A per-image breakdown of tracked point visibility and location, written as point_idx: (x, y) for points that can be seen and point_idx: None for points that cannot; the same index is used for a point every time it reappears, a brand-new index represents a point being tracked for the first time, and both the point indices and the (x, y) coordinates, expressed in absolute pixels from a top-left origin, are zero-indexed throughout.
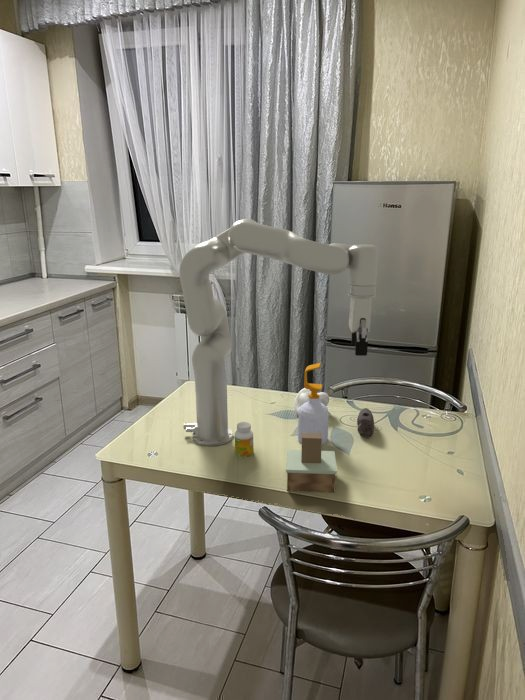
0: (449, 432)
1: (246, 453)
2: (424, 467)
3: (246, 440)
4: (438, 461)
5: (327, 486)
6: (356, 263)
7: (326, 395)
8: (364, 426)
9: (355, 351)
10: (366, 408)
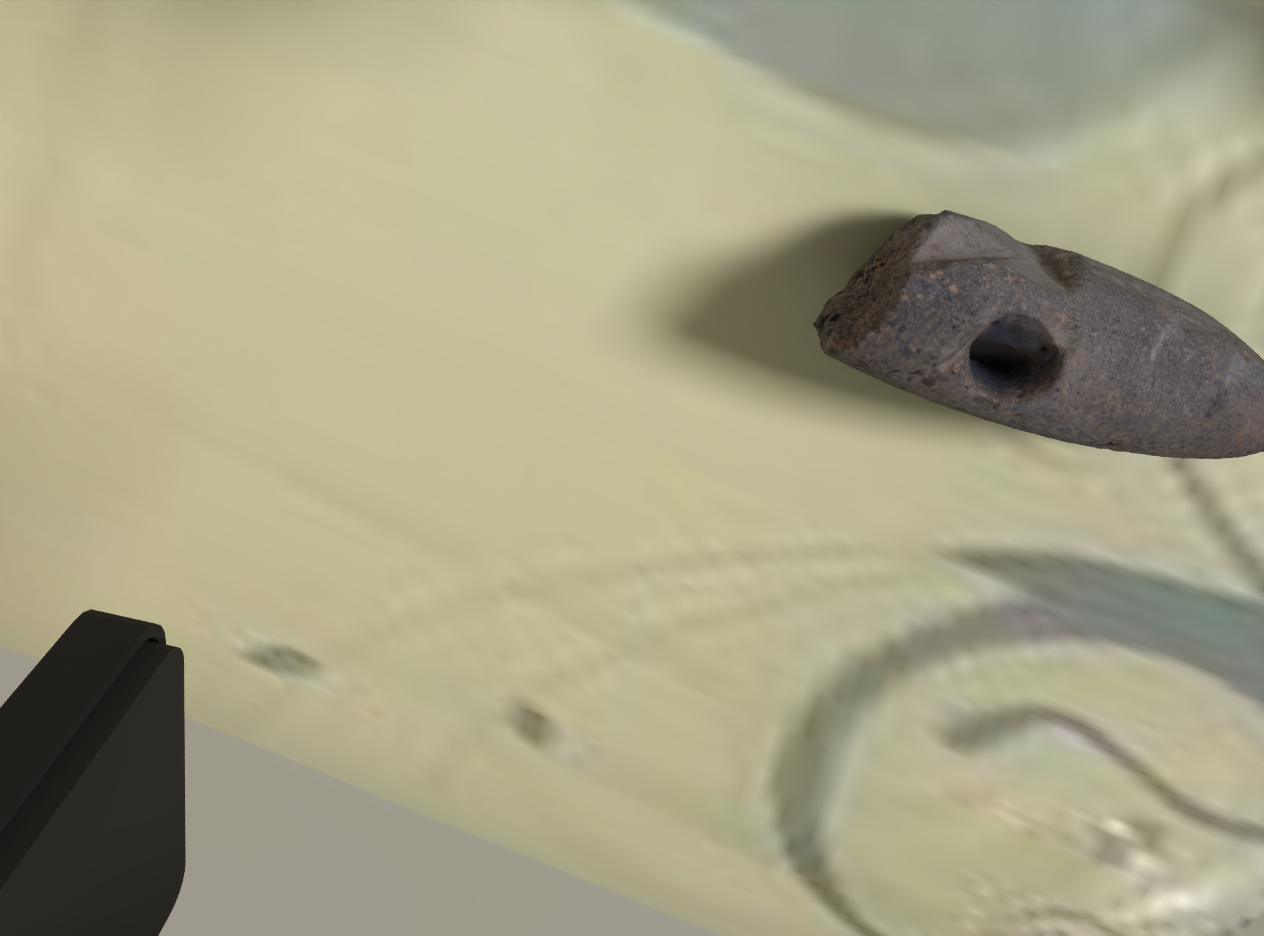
0: (820, 850)
1: None
2: (341, 493)
3: None
4: (420, 610)
5: None
6: None
7: None
8: (882, 278)
9: (24, 689)
10: (1214, 437)
